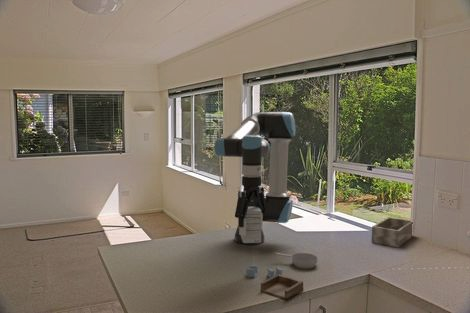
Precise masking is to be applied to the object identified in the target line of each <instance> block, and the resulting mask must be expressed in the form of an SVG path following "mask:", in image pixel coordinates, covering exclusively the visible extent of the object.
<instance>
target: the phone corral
mask: <svg viewBox="0 0 470 313" xmlns="http://www.w3.org/2000/svg"><path fill="white" fill-rule="evenodd" d="M411 221H412V220H409V219H404V218H403V219H402V218H396V217H390V216H389V217H387V218H385V219H384V220H381V221H380V222H377V223H376V224H374V225H373V226H371V243H374V244H380V245H385V246H391V247H394V248H399V247H401V246H402V245H403V244H405V243H406V242H407V241H408V240H409V239H411V238H412V237H413V236H412V224H413V222H411ZM411 236H412V237H411Z"/></svg>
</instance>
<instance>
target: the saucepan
mask: <svg viewBox="0 0 470 313" xmlns="http://www.w3.org/2000/svg"><path fill="white" fill-rule="evenodd" d="M275 255H278V256H283V257H288V258H291V261H292V263H293V265H294V266H295V267H296V268H300V269H306V270H307V269H308V268H309V269H313V268H314V267H316V265H317V263H318V259H319V258H318V256H317V255H315V254H312V253H308V252H307V253H306V252H299V253H294V254H286V253H282V252H275Z"/></svg>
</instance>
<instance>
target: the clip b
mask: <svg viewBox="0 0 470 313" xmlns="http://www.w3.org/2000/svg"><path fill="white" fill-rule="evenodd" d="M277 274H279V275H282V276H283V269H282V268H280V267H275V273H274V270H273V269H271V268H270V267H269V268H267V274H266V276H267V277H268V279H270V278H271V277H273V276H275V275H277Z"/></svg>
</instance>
